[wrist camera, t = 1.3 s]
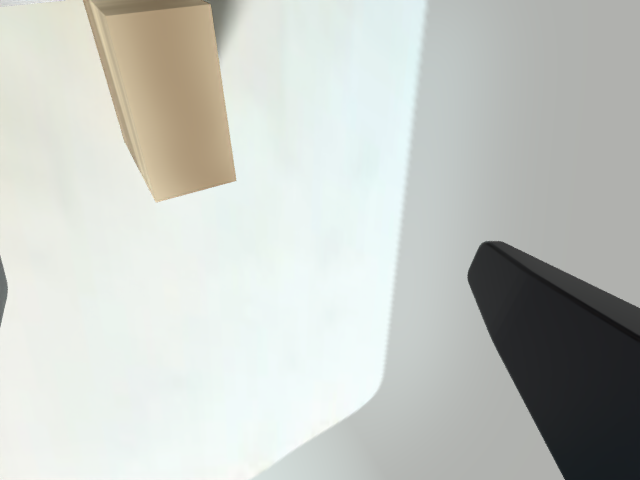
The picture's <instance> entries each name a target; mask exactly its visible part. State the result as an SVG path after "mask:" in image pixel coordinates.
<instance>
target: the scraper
mask: <svg viewBox="0 0 640 480" xmlns="http://www.w3.org/2000/svg"><path fill="white" fill-rule="evenodd" d="M54 1H64V0H0V7H2V6H13V5H23V4H33V3H44V2H54ZM83 2H84V5H85V9H86V12H87V15H88V19H89V22H90V26H91V29H92V32H93V36H94V39H95V43H96V46H97V50H98V53H99V56H100V60H101V63H102V67H103V70H104V73H105V77H106V80H107V84H108V87H109V90H110V94H111V97H112V101H113V104H114V107H115V111H116V114H117V118H118V121H119V125H120V128H121V131H122V135H123V138H124V141H125V143H126V145H127V147H128V149H129V151H130V153H131V155H132V157H133V159H134V161H135V163H136V165H137V167H138V169H139V171H140V172H141V174H142V176H143V178H144V180H145V182H146V184H147V186H148V188H149V190H150V192H151V194H152V196H153V198H154V200H155V202H160V201H163V200H167V199H171V198H174V197H178V196H182V195H185V194H189V193H193V192H197V191H200V190H204V189H208V188H211V187H215V186H219V185H222V184H226V183H230V182H234V181H236V175H235V168H234V161H233V154H232V148H231V141H230V134H229V127H228V120H227V113H226V106H225V99H224V93H223V86H222V79H221V72H220V65H219V58H218V51H217V44H216V38H215V31H214V24H213V17H212V10H211V4H209V3H207V2H205V1H203V0H83Z"/></svg>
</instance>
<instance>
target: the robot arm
mask: <svg viewBox="0 0 640 480" xmlns="http://www.w3.org/2000/svg"><path fill="white" fill-rule="evenodd" d="M468 282H469V285H470V288H471V290H472V293H473V295H474V298H475V299H476V302H477V305H478V307H479V310H480V312H481V315H482V317H483V320H484V322H485V325H486V327H487V330H488V332H489V334H490V337H491V339H492V341H493V343H494V345H495V347H496V349H497V351H498V353H499V355H500V357H501V359H502V361H503V363H504V364H505V366H506V368H507V370H508V372H509V374H510V376H511V378H512V380H513V382H514V384H515V386H516V388H517V389H518V391H519V393H520V395H521V397H522V399H523V401H524V403H525V405H526V407H527V408H528V410H529V412H530V414H531V416H532V418H533V420H534V422H535V424H536V426H537V428H538V430H539V431H540V433H541V435H542V437H543V439H544V441H545V443H546V444H547V447H548V449H549V451H550V452H551V454H552V456H553V458H554V460H555V462H556V464H557V466H558V468H559V469H560V471H561V473H562V475H563V477H564V479H565V480H640V308H638V307H636V306H634V305H632V304H630V303H628V302H626V301H624V300H622V299H620V298H617V297H616V296H613V295H611V294H609V293H607V292H605V291H603V290H601V289H599V288H597V287H595V286H593V285H591V284H588V283H587V282H585V281H583V280H580V279H578V278H576V277H574V276H572V275H570V274H568V273H566V272H564V271H562V270H560V269H558V268H556V267H553V266H551V265H549V264H547V263H545V262H543V261H541V260H539V259H537V258H535V257H533V256H531V255H529V254H527V253H525V252H522V251H521V250H518V249H516V248H514V247H512V246H510V245H508V244H506V243H504V242H501V241H486V242H483V243H482V244H481V245H480V246H479V248H478V250H477V252H476V255H475V257H474V259H473V261H472V264H471V266H470V268H469V270H468ZM7 292H8V286H7V280H6V276H5V272H4V268H3V264H2V261H1V257H0V326H1V321H2V317H3V312H4V308H5V304H6V299H7Z"/></svg>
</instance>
